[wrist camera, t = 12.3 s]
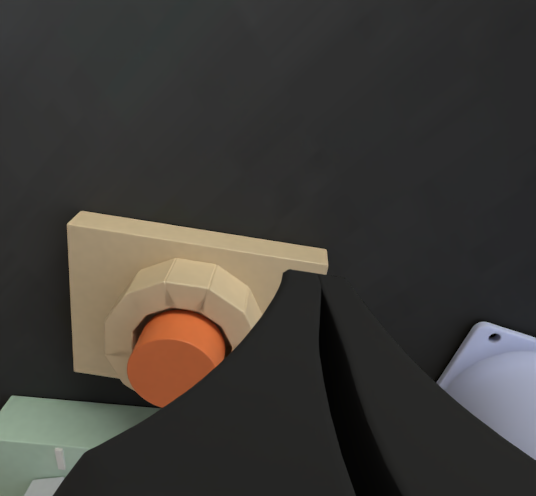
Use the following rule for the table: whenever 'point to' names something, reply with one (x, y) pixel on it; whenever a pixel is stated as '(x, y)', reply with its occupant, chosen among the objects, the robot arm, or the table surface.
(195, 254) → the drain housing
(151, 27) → the table surface
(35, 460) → the block
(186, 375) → the button
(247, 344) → the robot arm
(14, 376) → the table surface
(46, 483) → the tap handle
